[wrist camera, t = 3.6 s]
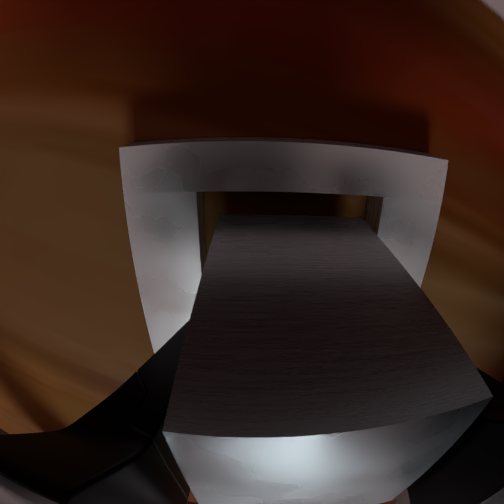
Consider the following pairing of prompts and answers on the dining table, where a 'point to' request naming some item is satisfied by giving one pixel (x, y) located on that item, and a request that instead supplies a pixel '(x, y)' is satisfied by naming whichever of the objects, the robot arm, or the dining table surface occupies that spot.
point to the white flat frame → (265, 180)
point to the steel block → (313, 369)
